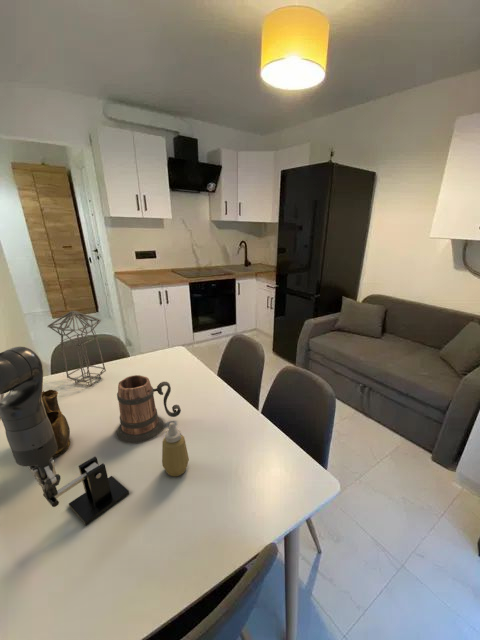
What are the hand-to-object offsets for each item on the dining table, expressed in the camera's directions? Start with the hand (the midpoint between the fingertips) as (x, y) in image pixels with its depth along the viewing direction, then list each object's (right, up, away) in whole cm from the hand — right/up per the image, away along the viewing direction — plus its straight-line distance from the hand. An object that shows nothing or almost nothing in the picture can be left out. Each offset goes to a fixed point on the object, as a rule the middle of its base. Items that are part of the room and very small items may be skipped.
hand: (51, 495), depth 69 cm
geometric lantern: (-33, +19, +70) cm, 80 cm away
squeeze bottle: (+23, -3, +23) cm, 33 cm away
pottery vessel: (-20, +1, +29) cm, 35 cm away
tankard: (+7, +5, +42) cm, 43 cm away
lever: (+3, 0, +4) cm, 5 cm away
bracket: (+5, -7, +12) cm, 15 cm away
